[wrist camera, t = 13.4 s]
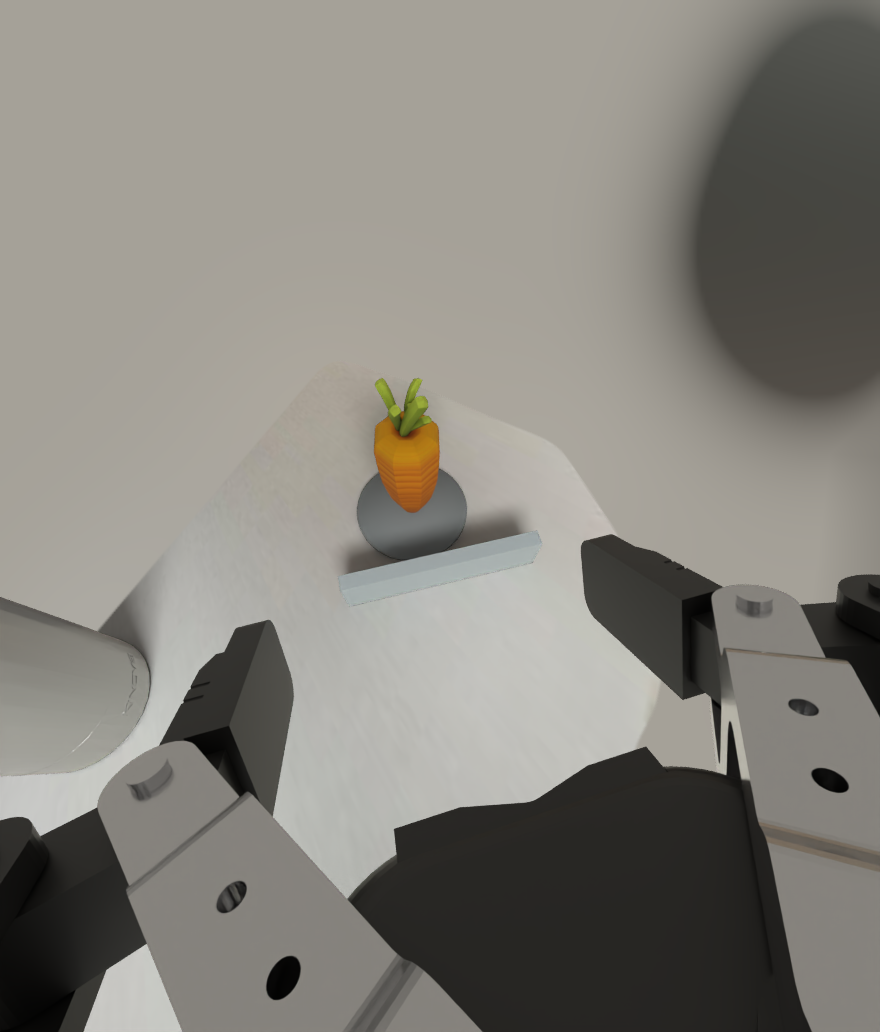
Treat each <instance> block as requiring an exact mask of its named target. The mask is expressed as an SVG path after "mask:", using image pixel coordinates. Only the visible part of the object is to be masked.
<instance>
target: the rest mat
mask: <svg viewBox="0 0 880 1032" xmlns="http://www.w3.org/2000/svg"><path fill="white" fill-rule="evenodd" d="M466 513H467V507H466V500H465V496H464V494H463V491H462V490H461V488H460V486H459V485H458V484H457V482H456V481H455V480H454V479H453V478H452V477H451V476H450V475H448V474H447V473H446V472H444V471H442V470H440V469H438V479H437V483H436V486H435V489H434V492H433V494H432V497H431V499H430V500H429V501H428V502H427V503H426V505H424V506H423V507H422V508H421V509H420V510H419V511H418V512H416V513H410V512H407V511H405V510H404V509H403V508H402V507H401V506H399V505H398V504H397V503H396V502H395V501H394V500H393V499H392V498H391V496H390V495H389V493H388V492H387V490H386V488H385V486H384V484H383V483H382V480H381V477H380V473H379V474H377V475H376V476H375V477H374V478H373V479H371V481H370V482H369V483H368V484H367V485H366V487H365V488H364V489H363V491H362V493H361V495H360V498H359V501H358V506H357V517H358V523H359V526H360V529H361V531H362V534H363V535H364V537H365V538H366V540H367V541H368V542H369V543H370V545H372V546H373V547H374V548H375V549H376V550H378V551H379V552H381V553H382V554H384V555H386V556H389V557H392V558H395V559H399V560H410V559H415V558H419V557H423V556H428V555H432V554H436V553H441V552H443V551H445V550H446V549H447V548H449V547H450V546H451V545H452V544H453V543H454V542H455V541H456V539H457V538H458V537H459V535H460V534H461V532H462V530H463V527H464V524H465V520H466Z"/></svg>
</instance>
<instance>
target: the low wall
mask: <svg viewBox="0 0 880 1032" xmlns="http://www.w3.org/2000/svg"><path fill="white" fill-rule="evenodd" d="M541 545H542V541H541V539H540V536H539V534H538V531H537V530H536V531H532V532H528V533H523V534H519V535H515V536H510V537H506V538H502V539H497V540H493V541H489V542H484V543H480V544H475V545H471V546H467V547H462V548H458V549H454V550H449V551H445V552H441V553H436V554H432V555H428V556H423V557H419V558H415V559H410V560H406V561H402V562H397V563H393V564H389V565H384V566H380V567H375V568H371V569H367V570H362V571H358V572H354V573H349V574H345V575H341V576H338V580H339V587H340V592H341V593H342V595H343V597H344V598H345V600H346V602H347V604H348V605H349V607H350V606H354V605H358V604H362V603H366V602H371V601H375V600H379V599H383V598H387V597H392V596H396V595H400V594H404V593H408V592H412V591H417V590H421V589H425V588H429V587H433V586H437V585H442V584H446V583H450V582H454V581H458V580H463V579H467V578H471V577H475V576H479V575H483V574H488V573H492V572H496V571H500V570H504V569H508V568H513V567H517V566H521V565H525V564H529V563H533V561H534V559H535V557H536V555H537V553H538V551H539V549H540V547H541Z"/></svg>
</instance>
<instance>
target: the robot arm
mask: <svg viewBox="0 0 880 1032" xmlns="http://www.w3.org/2000/svg"><path fill="white" fill-rule="evenodd" d="M581 559H582V571H583V583H584V594H585V600H586V603H587V606H588V608H589V610H590V612H591V614H592V615H593V617H594V618H595V619H596V620H597V621H598V622H599V623H600V624H602V625H603V626H604V627H605V628H606V629H607V630H608V631H609V632H610V633H611V634H612V635H613V636H614V637H616V638H617V639H618V640H619V641H620V642H621V643H622V644H623V645H624V646H625V647H626V648H627V649H628V650H630V651H631V652H632V653H633V654H634V655H635V656H636V657H637V658H638V659H639V660H640V661H641V662H642V663H644V664H645V665H646V666H647V667H648V668H649V669H650V670H651V671H652V672H653V673H654V674H655V675H656V676H657V677H659V678H660V679H661V680H662V681H663V682H664V683H665V684H666V685H668V687H669V688H670V689H672V690H673V691H674V692H675V693H676V694H677V695H678V696H679V697H680V698H681V699H682V700H684V699H687V698H690V697H694V696H697V695H700V694H703V693H706V694H708V695H709V696H710V717H711V726H712V735H713V744H714V752H715V761H716V770H717V772H713V771H708V770H704V769H697V768H689V767H672V766H670V767H663V766H662V765H661V764H660V763H659V762H658V760H657V759H656V758H655V757H654V756H653V754H652V753H651V752H650V751H649V750H648V748H647V747H643V748H640V749H637V750H634V751H631V752H628V753H625V754H622V755H619V756H616V757H613V758H610V759H607V760H603V761H600V762H597V763H594V764H591V765H588V766H587V767H585V768H583V769H582V770H580V771H579V772H577V773H576V774H574V775H573V776H571V777H570V778H568V779H567V780H565V781H564V782H562V783H561V784H559V785H558V786H556V787H555V788H553V789H552V790H550V791H549V792H547V793H546V794H544V795H543V796H541V797H540V798H538V799H536V800H534V801H531V802H526V803H515V804H501V805H487V806H473V807H460V808H457V809H454V810H451V811H448V812H445V813H441V814H438V815H435V816H432V817H429V818H426V819H423V820H420V821H417V822H414V823H411V824H408V825H405V826H402V827H399V828H396V829H394V834H395V843H396V853H397V855H395V856H394V857H392V858H391V859H389V860H388V861H386V862H385V863H384V864H382V865H381V866H380V867H379V868H377V869H376V870H375V871H374V872H372V873H371V874H370V875H369V876H368V877H367V878H366V879H365V880H364V881H363V882H362V883H361V884H360V885H359V886H358V887H357V888H356V889H355V890H354V892H353V893H352V894H351V895H350V896H349V898H348V899H346V898H345V896H344V895H343V894H342V893H341V892H340V891H339V890H338V889H337V888H336V886H335V885H334V884H333V883H332V882H331V881H330V880H329V879H328V878H327V877H326V875H325V874H324V873H323V872H322V871H321V870H320V869H319V868H318V867H317V865H316V864H315V863H314V862H313V861H312V860H311V859H310V858H309V857H308V856H307V854H306V853H305V852H304V851H303V850H302V849H301V848H300V847H299V846H298V844H297V843H296V842H295V841H294V840H293V839H292V838H291V837H290V836H289V835H288V833H287V832H286V831H285V830H284V829H283V828H282V827H281V826H280V825H279V823H278V822H277V821H276V820H275V819H274V818H273V811H274V806H275V800H276V795H277V789H278V784H279V778H280V772H281V767H282V761H283V756H284V750H285V744H286V739H287V733H288V728H289V722H290V717H291V711H292V705H293V698H294V693H293V683H292V678H291V674H290V671H289V668H288V665H287V662H286V659H285V656H284V653H283V650H282V647H281V644H280V641H279V638H278V635H277V632H276V630H275V627H274V625H273V623H272V622H271V621H270V620H266V621H262V622H258V623H254V624H250V625H246V626H242V627H238V628H236V629H235V631H234V633H233V635H232V637H231V639H230V641H229V643H228V646H227V648H226V650H225V652H223V653H219V654H216V655H215V656H214V657H213V658H212V659H211V660H210V661H209V662H207V663H206V664H205V665H204V666H203V667H202V668H201V669H200V670H199V672H198V674H197V676H196V677H195V679H194V681H193V683H192V685H191V689H190V690H189V691H188V692H187V694H186V696H185V698H184V700H183V701H184V703H183V704H181V706H180V707H179V709H178V711H177V713H176V715H175V717H174V719H173V721H172V722H171V724H170V726H169V728H168V730H167V732H166V734H165V736H164V737H163V739H162V741H161V743H160V745H159V746H157V747H155V748H153V749H151V750H149V751H147V752H145V753H143V754H142V755H140V756H138V757H137V758H135V759H134V760H132V761H131V762H129V763H128V764H127V765H126V766H124V767H123V768H122V769H121V770H120V771H119V772H118V773H117V774H116V775H115V776H114V777H113V778H112V779H111V780H110V781H109V782H108V784H107V785H106V786H105V788H104V789H103V791H102V793H101V795H100V797H99V800H98V805H97V808H95V809H93V810H92V811H90V812H88V813H86V814H84V815H82V816H80V817H78V818H76V819H74V820H72V821H70V822H68V823H66V824H64V825H62V826H60V827H58V828H56V829H54V830H52V831H50V832H48V833H46V834H44V835H42V836H40V835H39V834H38V832H37V831H36V829H35V827H34V826H33V824H32V823H31V821H30V820H29V819H27V818H24V817H14V818H8V819H4V820H1V821H0V1032H83V1031H84V1029H85V1026H86V1023H87V1021H88V1018H89V1015H90V1012H91V1010H92V1007H93V1004H94V1002H95V999H96V996H97V994H98V991H99V988H100V986H101V983H102V980H103V978H104V975H105V972H106V970H107V969H108V968H110V967H111V966H113V965H114V964H116V963H118V962H119V961H121V960H122V959H124V958H125V957H127V956H128V955H130V954H131V953H133V952H134V951H136V950H138V949H139V948H141V947H142V946H144V945H145V944H147V945H148V948H149V950H150V952H151V955H152V957H153V960H154V962H155V965H156V967H157V970H158V972H159V975H160V977H161V980H162V982H163V985H164V987H165V990H166V992H167V995H168V997H169V1000H170V1002H171V1004H172V1007H173V1009H174V1012H175V1014H176V1017H177V1019H178V1022H179V1024H180V1027H181V1029H182V1032H880V575H856V576H851V577H847V578H845V579H843V580H841V581H840V582H839V584H838V590H837V599H836V602H835V603H834V602H833V603H819V604H805V605H800V604H799V603H798V601H797V600H796V599H794V598H793V597H791V596H790V595H788V594H786V593H784V592H781V591H779V590H776V589H773V588H768V587H764V586H758V585H731V586H726V587H722V586H720V585H718V584H716V583H714V582H712V581H711V580H709V579H707V578H705V577H703V576H701V575H699V574H697V573H695V572H693V571H692V570H689V569H688V568H686V569H685V568H684V566H682V565H680V564H678V563H676V562H672V561H671V559H668V558H667V557H665V556H663V555H661V554H659V553H657V552H655V551H651V550H647V549H643V548H639V547H635V546H633V545H631V544H629V543H628V542H626V541H624V540H622V539H620V538H618V537H617V536H615V535H612V534H610V535H606V536H602V537H598V538H594V539H590V540H586V541H584V542H583V543H582V545H581ZM149 687H150V680H149V670H148V667H147V664H146V661H145V659H144V658H143V656H142V655H141V653H140V652H139V651H138V650H137V649H136V648H134V647H133V646H132V645H131V644H128V643H126V642H124V641H122V640H119V639H116V638H114V637H111V636H108V635H105V634H102V633H100V632H97V631H94V630H91V629H89V628H86V627H83V626H80V625H78V624H75V623H72V622H69V621H67V620H64V619H61V618H58V617H55V616H52V615H50V614H47V613H44V612H41V611H38V610H36V609H33V608H30V607H27V606H24V605H21V604H18V603H16V602H13V601H10V600H7V599H4V598H2V597H0V776H22V775H38V774H54V773H69V772H73V771H76V770H80V769H84V768H86V767H88V766H90V765H92V764H94V763H97V762H98V761H100V760H101V759H103V758H104V757H106V756H107V755H109V754H110V753H112V752H113V751H114V750H115V749H116V748H117V747H118V746H119V745H120V744H121V743H122V742H123V741H124V740H125V739H126V738H127V736H128V735H129V734H130V733H131V731H132V730H133V729H134V727H135V726H136V724H137V722H138V720H139V719H140V717H141V715H142V713H143V711H144V708H145V705H146V702H147V699H148V693H149Z"/></svg>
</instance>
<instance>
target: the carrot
mask: <svg viewBox="0 0 880 1032" xmlns="http://www.w3.org/2000/svg"><path fill="white" fill-rule="evenodd" d="M421 382H422V380H421V379H418V378H417V379H413V381H412V383H411V384H410V387H409V389H408V392H407V395H406V399H405V404H404V411H402V412H401V410H400V408H399V407H398V406H397V405H396V403H395V401H394V398H393V396H392V393H391V391H390V389H389V387H388V385H387V383H386V382H385V380H384V379H383V378H381V379H379V380H378V381H377V382H376V383H375V387H376V388H377V390H378V392H379V394H380V395H381V397H382V399H383V401H384V402H385V404H386V406H387V408H388V410H389V411H388V417H387V418H385V419H384V420H383V421H381V422H380V423H379V424H377V425H376V427H375V443H374V454H375V458H376V462H377V466H378V470H379V473H380V477H381V480H382V483H383V484H384V486H385V488H386V490H387V492H388V493H389V495H390V496H391V498H392V499H393V500H394V501H395V502H396V503H397V504H398V505H399V506H401V507H402V508H403V509H404V510H405V511H407V512H410V513H416V512H418V511H419V510H420V509H421V508H422V507H423V506H424V505H426V503H427V502H428V501H429V500H430V499H431V497H432V494H433V492H434V489H435V486H436V483H437V479H438V469H439V453H440V451H439V430H438V426H437V424H436V423H434V422H433V421H431V418H430V417H429V416H425V415H423V413H424V412H425V411H426V409H427V408H428V401H427V399H426V398H425V396H419V397H416V398H415V396H416V393H417V391H418V389H419V387H420V385H421ZM414 398H415V399H414Z"/></svg>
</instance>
